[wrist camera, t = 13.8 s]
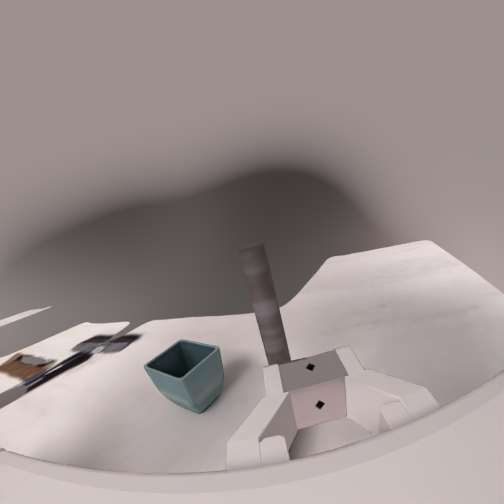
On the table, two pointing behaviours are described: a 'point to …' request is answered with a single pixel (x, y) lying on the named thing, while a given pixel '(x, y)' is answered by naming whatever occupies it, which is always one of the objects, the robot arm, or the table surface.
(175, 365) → the flower pot
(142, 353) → the table surface
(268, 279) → the brown board with post
